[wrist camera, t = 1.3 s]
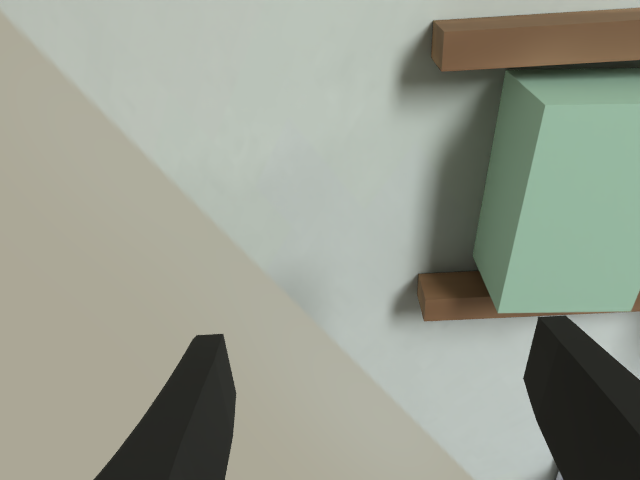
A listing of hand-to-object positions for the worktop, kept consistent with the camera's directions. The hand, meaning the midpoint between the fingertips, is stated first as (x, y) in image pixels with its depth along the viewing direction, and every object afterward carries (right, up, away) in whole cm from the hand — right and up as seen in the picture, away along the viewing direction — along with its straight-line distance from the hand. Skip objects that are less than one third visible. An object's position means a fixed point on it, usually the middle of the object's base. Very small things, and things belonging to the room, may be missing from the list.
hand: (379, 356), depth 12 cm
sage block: (+8, +6, +9) cm, 13 cm away
